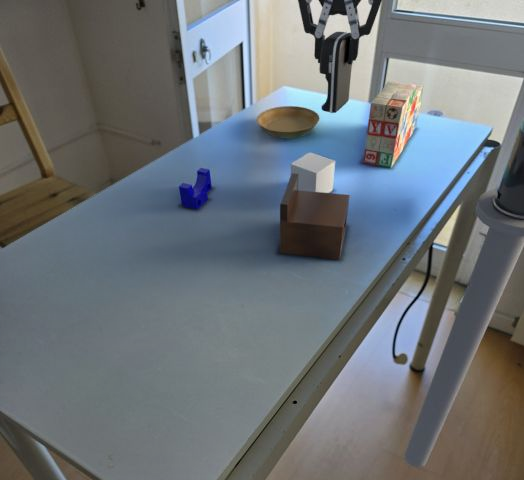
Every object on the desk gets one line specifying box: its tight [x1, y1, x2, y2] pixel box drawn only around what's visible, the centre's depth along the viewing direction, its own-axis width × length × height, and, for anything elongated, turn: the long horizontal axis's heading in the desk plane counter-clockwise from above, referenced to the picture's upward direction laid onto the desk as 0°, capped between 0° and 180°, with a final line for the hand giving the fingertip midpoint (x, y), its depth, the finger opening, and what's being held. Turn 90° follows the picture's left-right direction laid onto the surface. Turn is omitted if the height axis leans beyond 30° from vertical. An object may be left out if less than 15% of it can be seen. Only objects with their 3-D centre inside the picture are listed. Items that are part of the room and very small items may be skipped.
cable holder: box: [178, 167, 213, 210], centre depth 91 cm, size 8×4×4 cm, turn 154°
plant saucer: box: [256, 105, 321, 139], centre depth 112 cm, size 15×15×3 cm
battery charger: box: [319, 31, 353, 114], centre depth 82 cm, size 7×4×11 cm, turn 152°
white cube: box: [289, 151, 336, 193], centre depth 91 cm, size 6×6×6 cm
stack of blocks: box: [362, 81, 424, 169], centre depth 101 cm, size 21×6×12 cm, turn 154°
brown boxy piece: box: [279, 173, 350, 260], centre depth 79 cm, size 10×10×9 cm
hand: (335, 61), depth 81 cm, fingers closed on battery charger, 4 cm apart
